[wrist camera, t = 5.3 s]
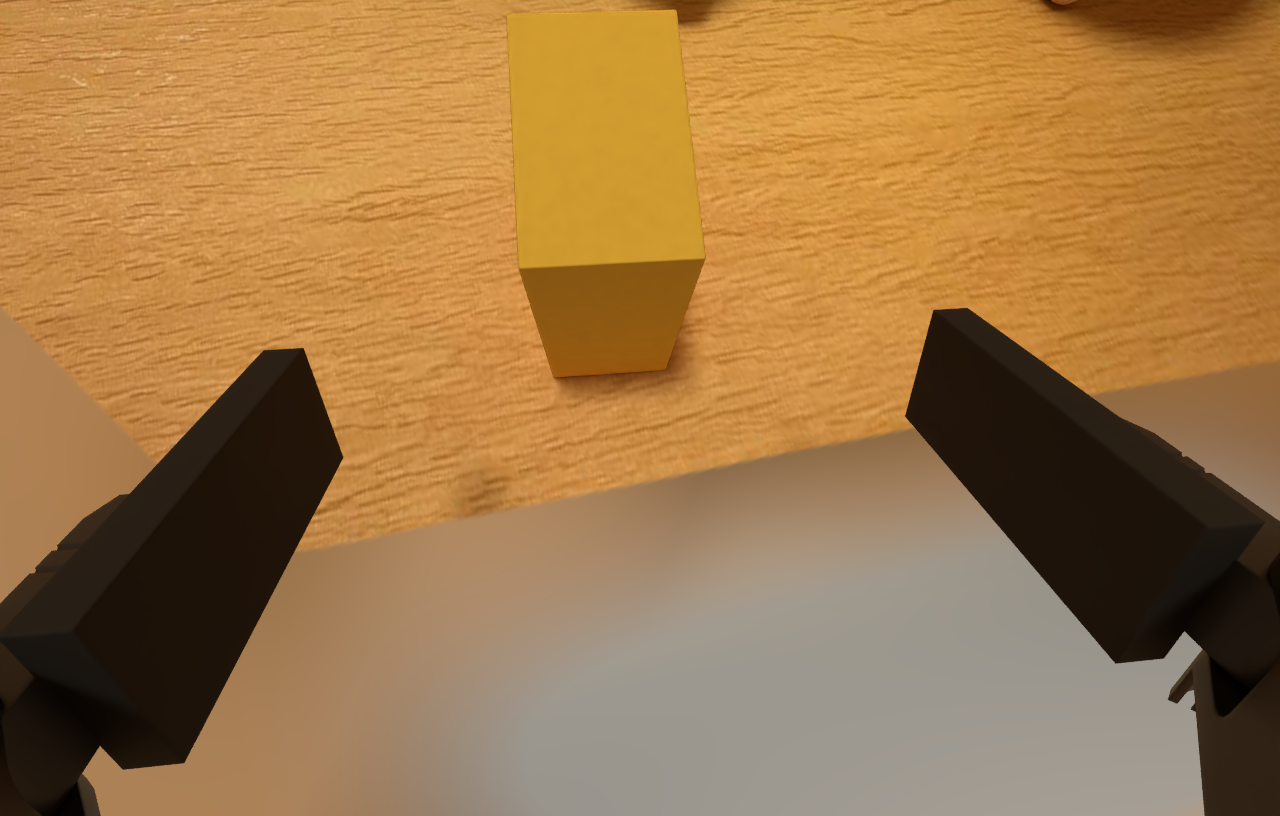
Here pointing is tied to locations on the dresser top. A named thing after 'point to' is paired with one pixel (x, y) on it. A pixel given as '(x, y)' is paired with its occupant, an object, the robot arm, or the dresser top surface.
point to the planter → (1063, 1)
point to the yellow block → (604, 186)
